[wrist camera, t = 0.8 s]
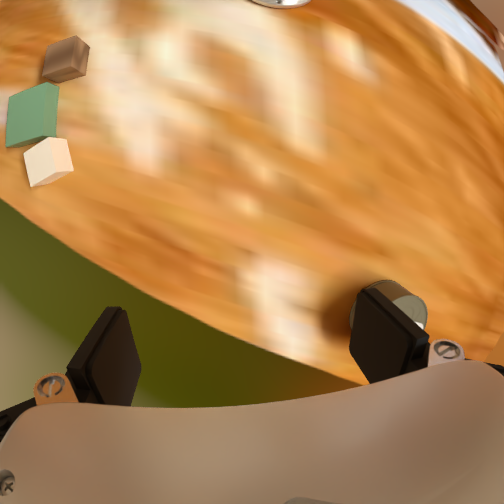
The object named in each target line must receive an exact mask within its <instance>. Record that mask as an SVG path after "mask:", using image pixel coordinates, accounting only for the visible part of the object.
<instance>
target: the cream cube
mask: <svg viewBox="0 0 504 504" xmlns="http://www.w3.org/2000/svg"><path fill="white" fill-rule="evenodd" d="M23 154H24V159H25V164H26V169H27V174H28V178H29V182H30V186H31V187H33V186H39V185H45V184H50V183H51V182H53V181H55V180H57V179H59V178H61V177H62V176H64V175H66V174H68V173H70V172H72V171H74V169H73V166H72V162H71V157H70V153H69V149H68V144H67V140H66V139H61V138H53V137H48V138H46V139H45V140H43V141H41V142H40V143H38V144H37V145H35V146H34V147H32V148H31V149H29V150H28V151H26V152H25V153H23Z"/></svg>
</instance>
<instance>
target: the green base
mask: <svg viewBox="0 0 504 504" xmlns="http://www.w3.org/2000/svg"><path fill="white" fill-rule="evenodd" d="M58 95H59V87H58V86H55V85H53V84H51V83H48V82H46V83H43V84H40V85H37V86H35V87H32V88H30V89H27V90H25V91H22V92H20V93H18V94H15V95H13V96H11V97H9V104H8V114H7V127H6V147H22V146H25V145H29V144H32V143H36V142H39V141H43V140H45V139H46V138H48V137H53V138H54V137H56V120H57V106H58Z"/></svg>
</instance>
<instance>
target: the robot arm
mask: <svg viewBox="0 0 504 504" xmlns="http://www.w3.org/2000/svg"><path fill="white" fill-rule="evenodd" d="M252 1H254V2H256V3H259V4H261V5H264V6H268V7H273V8H296V7H299V6H303V5H305V4H307V3H308V2H310V1H311V0H252ZM428 339H429V335H428V334H427V333H426V332H425V331H424V330H423V329H422V328H421V327H420V326H418V325H417V324H416V323H415V322H414V321H413V320H412V319H411V318H410V317H409V316H407V315H406V314H405V313H404V312H403V311H402V310H401V309H400V308H398V307H397V306H396V305H395V304H394V303H393V302H392V301H390V300H389V299H388V298H387V297H386V296H385V295H383V294H382V293H381V292H380V291H379V290H378V289H377V288H375V287H374V288H366V289H362V290H361V292H360V293H358V294H357V299H356V306H355V313H354V320H353V327H352V333H351V339H350V344H349V350H350V353H351V355H352V357H353V358H354V360H355V361H356V363H357V364H358V366H359V367H360V369H361V371H362V372H363V374H364V375H365V377H366V378H367V380H368V381H369V383H370V384H368V385H364V386H360V387H356V388H352V389H348V390H343V391H339V392H334V393H329V394H324V395H318V396H313V397H307V398H301V399H294V400H288V401H280V402H272V403H264V404H254V405H244V406H232V407H212V408H148V407H131V403H132V399H133V396H134V392H135V389H136V386H137V382H138V379H139V376H140V373H141V363H140V359H139V356H138V353H137V349H136V346H135V343H134V339H133V335H132V331H131V328H130V324H129V320H128V316H127V313H126V311H125V310H122V308H121V307H106V309H105V310H104V311H103V313H102V314H101V316H100V317H99V318H98V320H97V321H96V323H95V324H94V326H93V327H92V329H91V330H90V332H89V333H88V335H87V336H86V338H85V339H84V341H83V342H82V344H81V345H80V347H79V348H78V350H77V352H76V353H75V355H74V356H73V358H72V359H71V361H70V362H69V364H68V366H67V372H66V374H65V375H64V374H61V373H51V374H47V375H45V376H43V377H41V378H40V379H39V380H38V381H37V382H36V383H35V386H34V396H35V397H34V398H31V399H30V400H27V401H25V402H22V403H20V404H18V405H15V406H13V407H10V408H8V409H6V410H3V411H1V412H0V504H504V367H503V366H501V365H495V364H490V363H485V362H481V361H475V360H471V359H466V358H465V357H464V350H463V348H462V347H461V346H460V345H459V344H458V343H456V342H454V341H452V340H448V339H437V340H435V341H433V342H432V343H431V344H430V343H429V342H428Z"/></svg>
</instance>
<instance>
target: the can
mask: <svg viewBox="0 0 504 504" xmlns="http://www.w3.org/2000/svg"><path fill="white" fill-rule="evenodd" d="M374 287H375V288H377V289H378V290H379V291H380V292H381V293H382V294H383V295H385V296H386V297H387V298H388V299H389V300H390V301H392V302H393V303H394V304H395V305H396V306H397V307H398V308H400V309H401V310H402V311H403V312H404V313H405V314H406V315H407V316H409V317H410V318H411V319H412V320H413V321H414V322H415V323H416V324H417V325H418V326H420V327H421V328H422V329H423V330H424V329H425V326H426V323H427V317H428V312H427V307H426V304H425V303H424V301H423V300H422V299H421V298H419V297H418V296H416V295H413V294H412V293H411V292H409V291H408V290H406V289H405V288H404V287H402V286H401V285H400V284H398V283H397V282H395V281H392V280H382V281H378V282H376V283H373V284H372V285H370V286H368V287H367V288H374ZM355 306H356V300H355V302H354V304H353V306H352V308H351V312H350V317H349V323H350V327H351V330H352V327H353V320H354V313H355Z"/></svg>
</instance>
